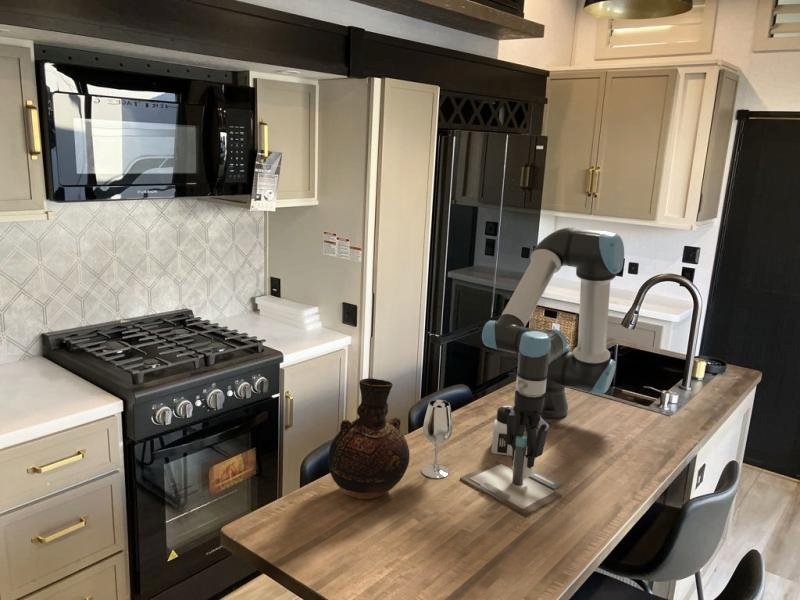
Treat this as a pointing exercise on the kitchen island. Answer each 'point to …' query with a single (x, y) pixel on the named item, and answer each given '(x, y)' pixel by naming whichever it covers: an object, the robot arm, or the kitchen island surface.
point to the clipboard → (511, 489)
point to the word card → (545, 480)
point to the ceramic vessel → (369, 446)
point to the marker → (519, 459)
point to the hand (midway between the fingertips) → (521, 474)
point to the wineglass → (437, 434)
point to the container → (501, 434)
